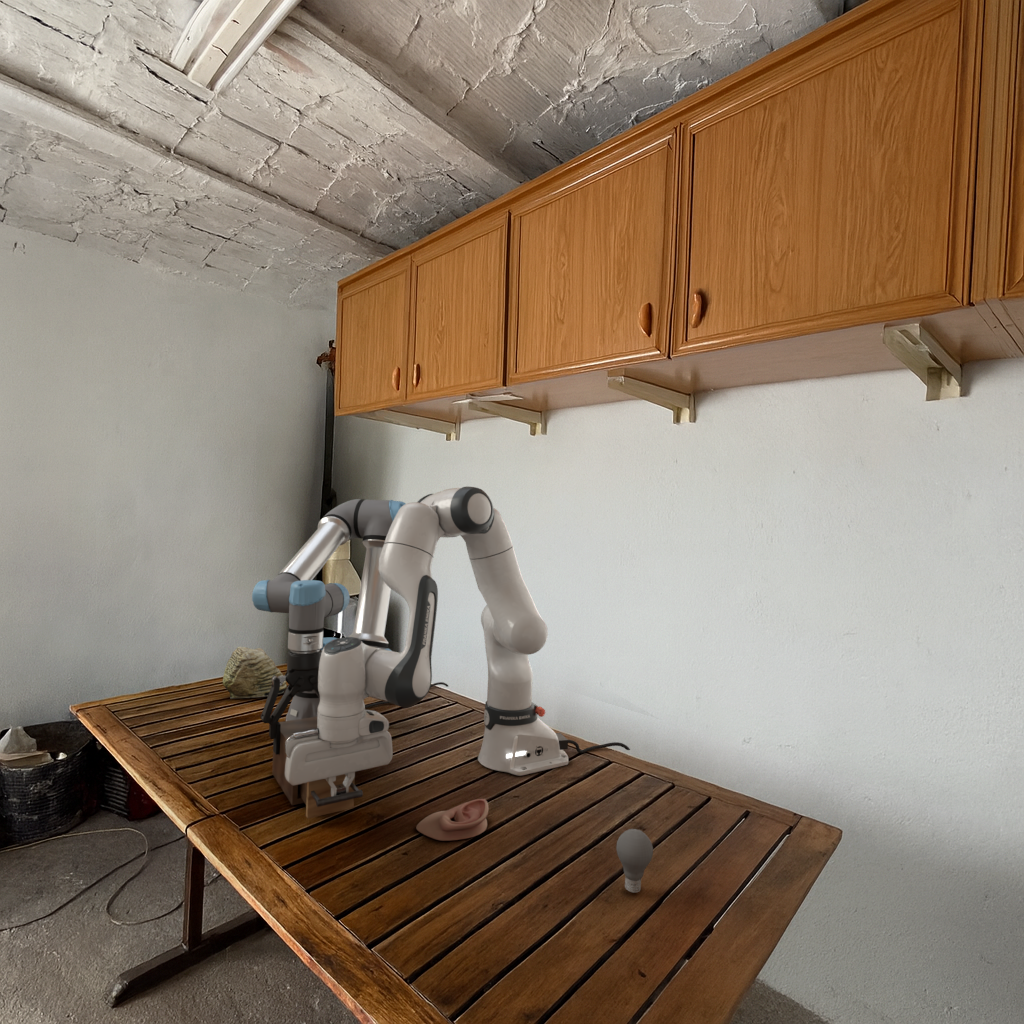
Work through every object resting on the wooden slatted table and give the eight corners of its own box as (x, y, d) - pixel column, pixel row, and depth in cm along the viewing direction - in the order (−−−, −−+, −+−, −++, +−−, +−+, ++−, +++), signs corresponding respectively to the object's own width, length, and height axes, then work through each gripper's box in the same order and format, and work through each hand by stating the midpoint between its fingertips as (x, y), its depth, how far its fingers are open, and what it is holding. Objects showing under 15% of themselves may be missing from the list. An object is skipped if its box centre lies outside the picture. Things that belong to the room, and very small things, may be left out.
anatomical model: (410, 815, 119) (430, 788, 131) (410, 836, 119) (430, 807, 131) (479, 825, 117) (493, 797, 128) (478, 847, 117) (492, 817, 128)
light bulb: (610, 879, 108) (613, 822, 108) (644, 879, 109) (647, 822, 109) (619, 902, 102) (622, 840, 102) (655, 901, 103) (658, 840, 103)
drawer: (363, 819, 122) (365, 770, 122) (315, 831, 117) (317, 780, 117) (329, 777, 140) (330, 734, 140) (286, 786, 135) (288, 742, 135)
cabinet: (341, 794, 135) (343, 740, 135) (292, 805, 129) (293, 749, 129) (318, 764, 149) (319, 716, 149) (272, 773, 144) (273, 722, 144)
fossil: (218, 695, 195) (220, 647, 195) (278, 685, 208) (279, 640, 207) (228, 703, 189) (230, 653, 188) (289, 692, 201) (290, 645, 201)
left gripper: (254, 658, 133) (251, 763, 133) (360, 648, 145) (356, 744, 146) (247, 651, 139) (244, 751, 139) (349, 642, 152) (346, 733, 152)
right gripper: (289, 740, 113) (288, 816, 113) (396, 720, 124) (395, 789, 125) (280, 728, 118) (279, 801, 119) (384, 710, 130) (382, 777, 130)
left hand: (301, 747), depth 143 cm, fingers closed on cabinet, 10 cm apart
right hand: (339, 795), depth 122 cm, fingers closed
